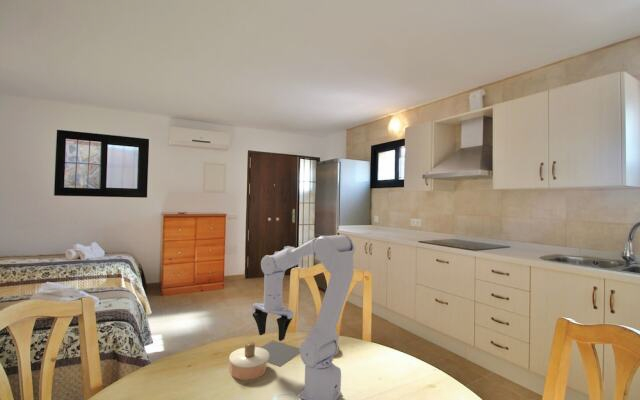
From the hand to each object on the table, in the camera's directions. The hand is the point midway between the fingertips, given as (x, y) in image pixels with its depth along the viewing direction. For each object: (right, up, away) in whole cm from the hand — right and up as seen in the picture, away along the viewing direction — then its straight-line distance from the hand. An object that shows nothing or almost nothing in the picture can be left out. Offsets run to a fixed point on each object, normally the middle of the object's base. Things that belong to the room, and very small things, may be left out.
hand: (271, 336), depth 102 cm
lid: (-7, -6, -2) cm, 9 cm away
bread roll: (+17, -11, +13) cm, 24 cm away
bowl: (-7, -10, -2) cm, 12 cm away
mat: (0, -10, +10) cm, 14 cm away
